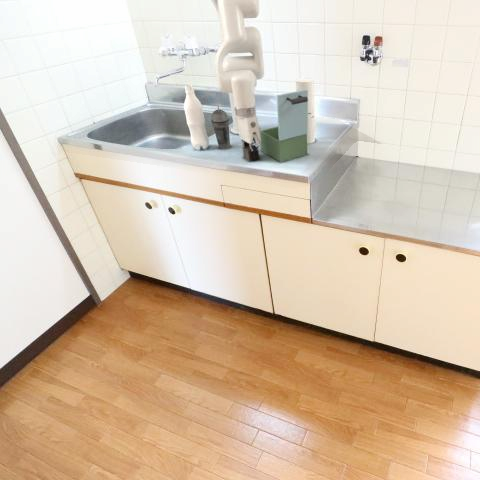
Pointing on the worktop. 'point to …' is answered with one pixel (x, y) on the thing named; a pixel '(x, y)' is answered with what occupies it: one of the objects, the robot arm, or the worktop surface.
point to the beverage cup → (221, 127)
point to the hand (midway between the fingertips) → (251, 157)
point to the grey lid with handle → (292, 114)
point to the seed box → (282, 145)
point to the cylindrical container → (308, 85)
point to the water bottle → (195, 119)
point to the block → (247, 152)
